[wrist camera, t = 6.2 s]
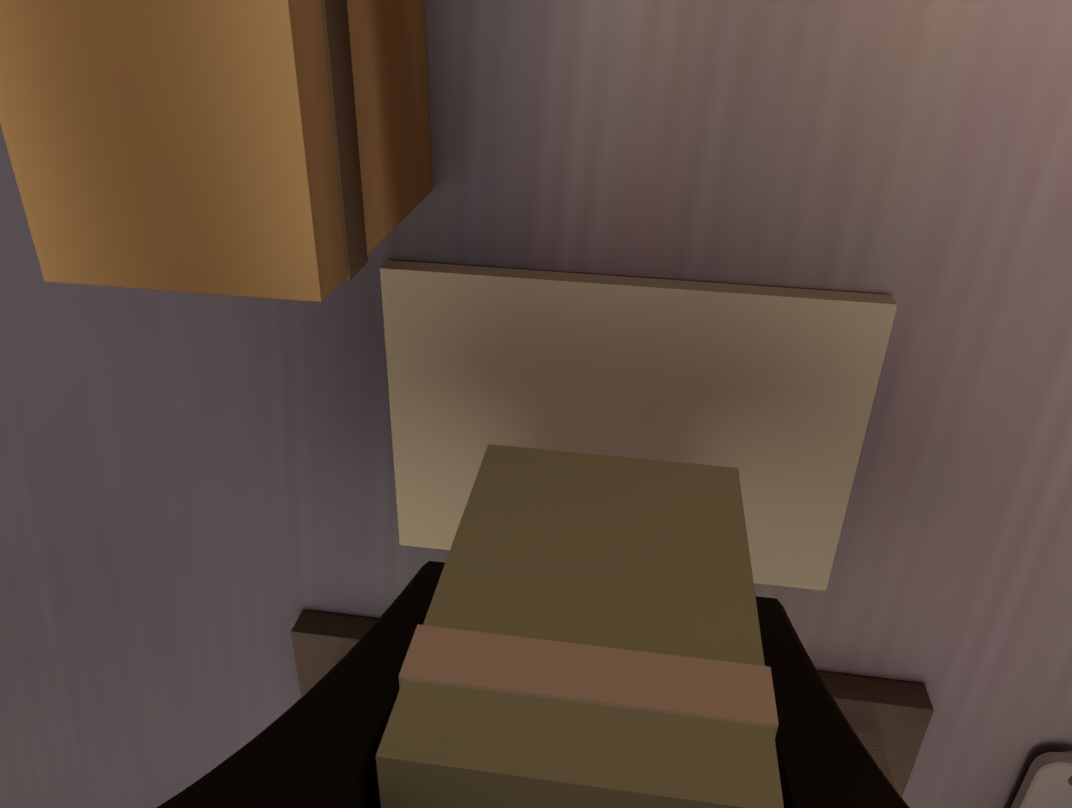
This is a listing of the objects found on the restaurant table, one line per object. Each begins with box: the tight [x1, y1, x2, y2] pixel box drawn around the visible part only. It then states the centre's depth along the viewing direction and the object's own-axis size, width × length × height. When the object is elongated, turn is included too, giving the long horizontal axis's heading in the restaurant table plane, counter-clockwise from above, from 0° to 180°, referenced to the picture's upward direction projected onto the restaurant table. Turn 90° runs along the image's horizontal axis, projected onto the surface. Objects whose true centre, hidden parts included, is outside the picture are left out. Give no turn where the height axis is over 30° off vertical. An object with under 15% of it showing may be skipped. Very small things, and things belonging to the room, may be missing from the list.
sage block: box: [376, 444, 784, 808], centre depth 12 cm, size 4×4×6 cm
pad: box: [380, 260, 898, 591], centre depth 18 cm, size 10×7×1 cm
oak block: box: [0, 0, 432, 302], centre depth 13 cm, size 4×4×6 cm
